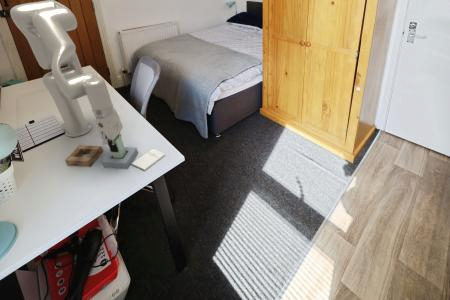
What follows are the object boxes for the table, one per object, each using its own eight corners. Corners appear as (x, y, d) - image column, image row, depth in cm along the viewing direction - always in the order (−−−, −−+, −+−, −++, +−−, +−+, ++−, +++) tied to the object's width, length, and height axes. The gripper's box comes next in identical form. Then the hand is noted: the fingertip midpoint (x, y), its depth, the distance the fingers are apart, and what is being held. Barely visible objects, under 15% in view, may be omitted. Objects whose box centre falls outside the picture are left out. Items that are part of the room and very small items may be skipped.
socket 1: (67, 165, 121) (64, 160, 120) (81, 150, 130) (79, 145, 128) (90, 166, 120) (88, 161, 118) (103, 151, 128) (101, 146, 127)
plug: (114, 159, 120) (106, 140, 114) (118, 154, 123) (111, 135, 117) (122, 160, 119) (116, 140, 113) (126, 154, 123) (120, 135, 117)
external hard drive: (131, 166, 119) (152, 151, 127) (145, 172, 115) (166, 156, 123) (130, 163, 118) (152, 148, 126) (144, 169, 114) (165, 153, 122)
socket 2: (103, 167, 119) (101, 161, 117) (115, 151, 127) (113, 146, 126) (127, 168, 117) (125, 163, 115) (138, 152, 126) (136, 147, 124)
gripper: (101, 121, 101) (116, 161, 111) (122, 100, 114) (133, 137, 125) (82, 120, 102) (99, 160, 113) (105, 100, 115) (118, 137, 126)
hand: (117, 148), depth 118 cm, fingers closed on plug, 3 cm apart
